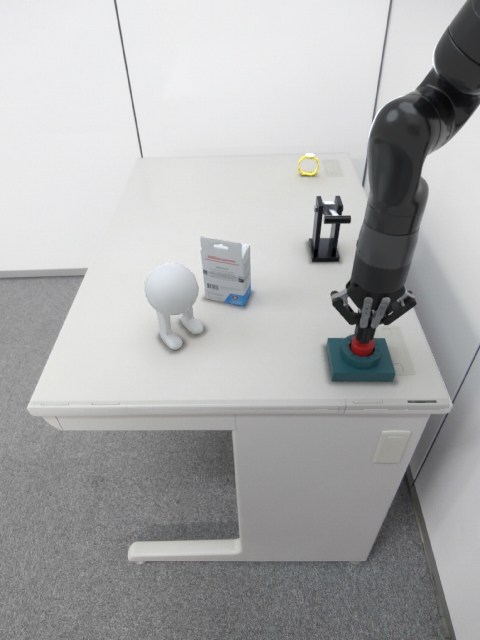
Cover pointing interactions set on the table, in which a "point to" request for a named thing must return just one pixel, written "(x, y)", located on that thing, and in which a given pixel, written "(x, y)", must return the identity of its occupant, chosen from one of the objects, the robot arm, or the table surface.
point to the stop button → (362, 348)
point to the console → (359, 361)
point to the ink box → (226, 270)
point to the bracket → (325, 246)
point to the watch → (308, 156)
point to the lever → (334, 214)
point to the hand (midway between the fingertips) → (362, 339)
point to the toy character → (173, 299)
